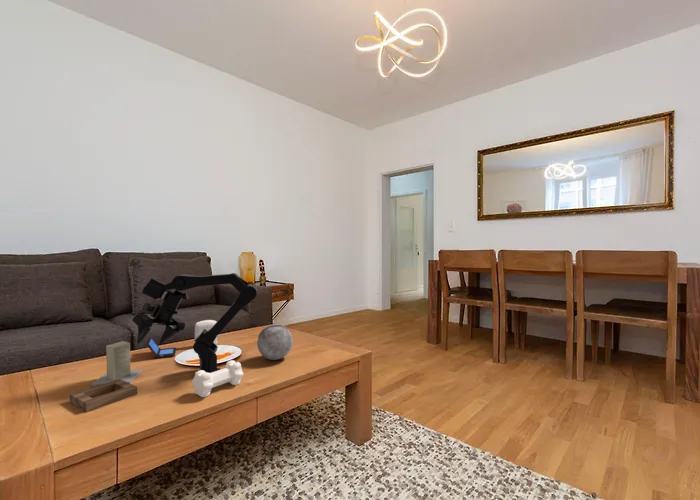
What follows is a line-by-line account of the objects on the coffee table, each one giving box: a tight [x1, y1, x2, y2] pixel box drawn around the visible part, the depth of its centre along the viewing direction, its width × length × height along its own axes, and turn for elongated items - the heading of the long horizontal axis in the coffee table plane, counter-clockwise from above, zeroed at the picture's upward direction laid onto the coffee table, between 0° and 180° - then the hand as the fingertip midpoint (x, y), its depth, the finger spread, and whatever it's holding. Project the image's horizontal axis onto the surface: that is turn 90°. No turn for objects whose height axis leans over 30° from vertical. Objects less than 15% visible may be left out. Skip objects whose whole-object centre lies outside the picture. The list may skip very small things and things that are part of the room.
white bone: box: [191, 359, 245, 398], centre depth 115 cm, size 15×9×8 cm, turn 144°
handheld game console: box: [146, 336, 177, 360], centre depth 151 cm, size 12×11×7 cm
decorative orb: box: [256, 323, 294, 361], centre depth 145 cm, size 15×14×15 cm
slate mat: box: [90, 368, 143, 387], centre depth 124 cm, size 12×12×1 cm
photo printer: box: [194, 319, 218, 346], centre depth 164 cm, size 10×4×12 cm, turn 123°
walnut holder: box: [69, 379, 138, 413], centre depth 108 cm, size 12×14×2 cm
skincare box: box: [105, 340, 131, 380], centre depth 124 cm, size 6×4×12 cm
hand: (149, 343), depth 126 cm, fingers open, 9 cm apart
